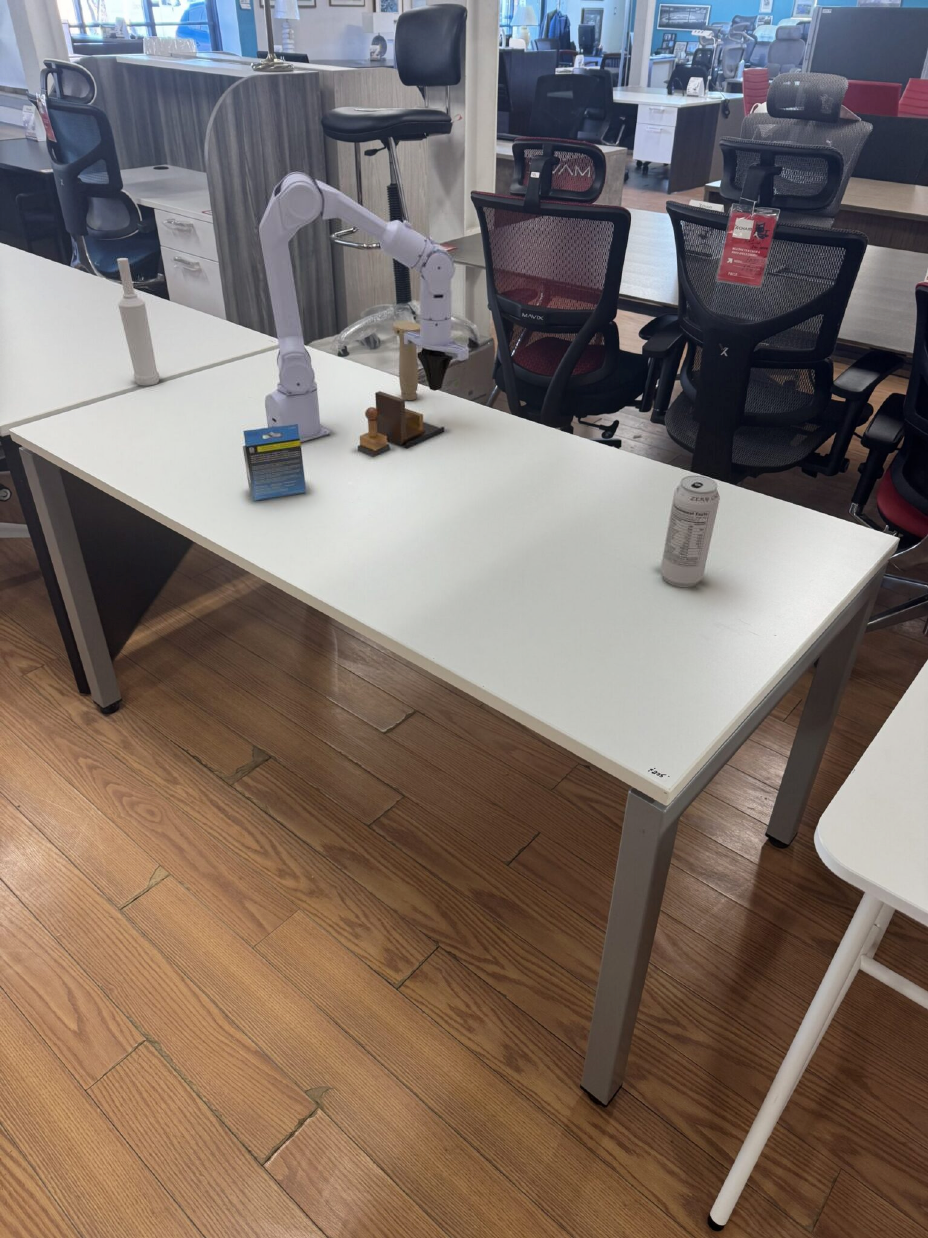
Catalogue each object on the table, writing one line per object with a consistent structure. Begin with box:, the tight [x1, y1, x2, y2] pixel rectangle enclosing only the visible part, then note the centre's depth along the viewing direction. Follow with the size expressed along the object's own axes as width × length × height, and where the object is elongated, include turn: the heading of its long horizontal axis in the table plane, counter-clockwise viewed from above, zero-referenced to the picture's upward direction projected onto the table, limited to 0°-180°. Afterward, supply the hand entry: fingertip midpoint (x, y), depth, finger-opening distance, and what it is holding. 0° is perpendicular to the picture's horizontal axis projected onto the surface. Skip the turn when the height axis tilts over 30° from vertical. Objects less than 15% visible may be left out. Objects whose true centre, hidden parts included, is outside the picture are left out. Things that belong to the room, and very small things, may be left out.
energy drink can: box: [660, 475, 721, 588], centre depth 117 cm, size 6×6×15 cm
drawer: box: [374, 390, 425, 444], centre depth 157 cm, size 7×6×8 cm
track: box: [387, 421, 445, 449], centre depth 161 cm, size 10×8×1 cm
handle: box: [391, 320, 420, 401], centre depth 173 cm, size 5×6×15 cm
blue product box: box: [242, 424, 307, 502], centre depth 138 cm, size 9×4×12 cm, turn 111°
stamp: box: [357, 406, 391, 458], centre depth 154 cm, size 8×4×7 cm
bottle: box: [116, 257, 160, 387], centre depth 175 cm, size 5×5×25 cm
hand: (435, 388), depth 162 cm, fingers closed
